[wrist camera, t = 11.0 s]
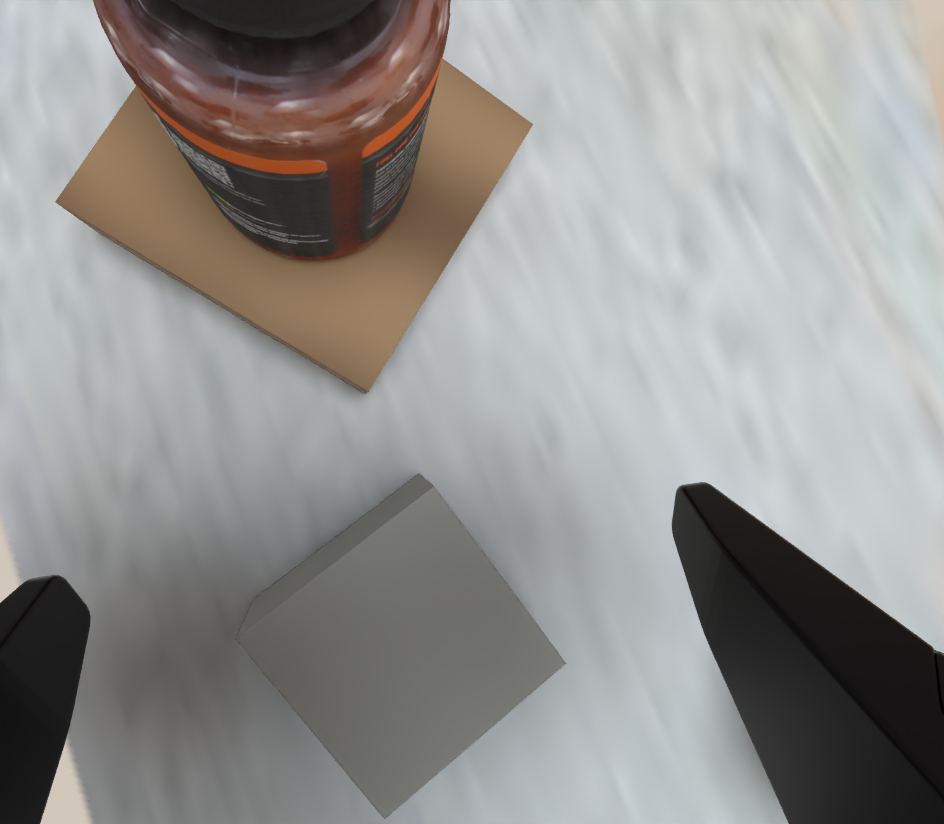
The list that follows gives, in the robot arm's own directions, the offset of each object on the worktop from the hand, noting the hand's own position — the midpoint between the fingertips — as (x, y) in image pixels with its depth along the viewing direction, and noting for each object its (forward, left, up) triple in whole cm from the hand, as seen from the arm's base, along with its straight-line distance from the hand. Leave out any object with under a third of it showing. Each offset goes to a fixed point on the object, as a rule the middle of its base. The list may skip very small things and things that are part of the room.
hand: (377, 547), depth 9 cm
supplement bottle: (+7, +6, -10) cm, 14 cm away
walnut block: (+7, +6, -13) cm, 16 cm away
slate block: (-4, -4, -13) cm, 14 cm away
